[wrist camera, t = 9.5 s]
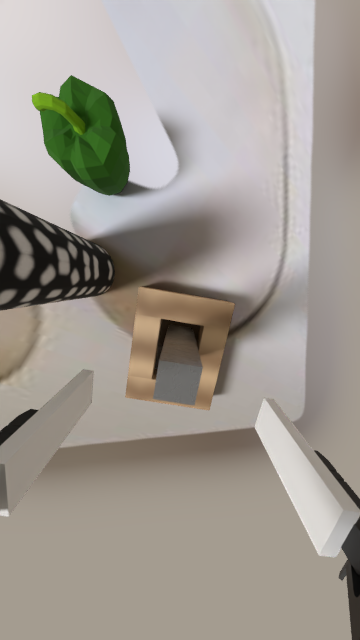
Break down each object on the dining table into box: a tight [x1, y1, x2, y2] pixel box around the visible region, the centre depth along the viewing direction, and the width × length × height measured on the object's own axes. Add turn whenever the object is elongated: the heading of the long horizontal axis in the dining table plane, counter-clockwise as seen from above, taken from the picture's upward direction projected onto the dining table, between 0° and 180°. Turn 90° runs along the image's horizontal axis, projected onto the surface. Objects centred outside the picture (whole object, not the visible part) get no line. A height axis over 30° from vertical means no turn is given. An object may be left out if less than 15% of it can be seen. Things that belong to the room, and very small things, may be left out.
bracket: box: [153, 324, 203, 406], centre depth 23 cm, size 7×4×14 cm, turn 170°
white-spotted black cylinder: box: [0, 200, 115, 310], centre depth 17 cm, size 8×8×20 cm
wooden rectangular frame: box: [125, 286, 235, 410], centre depth 28 cm, size 18×14×4 cm
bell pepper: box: [32, 75, 130, 195], centre depth 20 cm, size 8×8×10 cm
